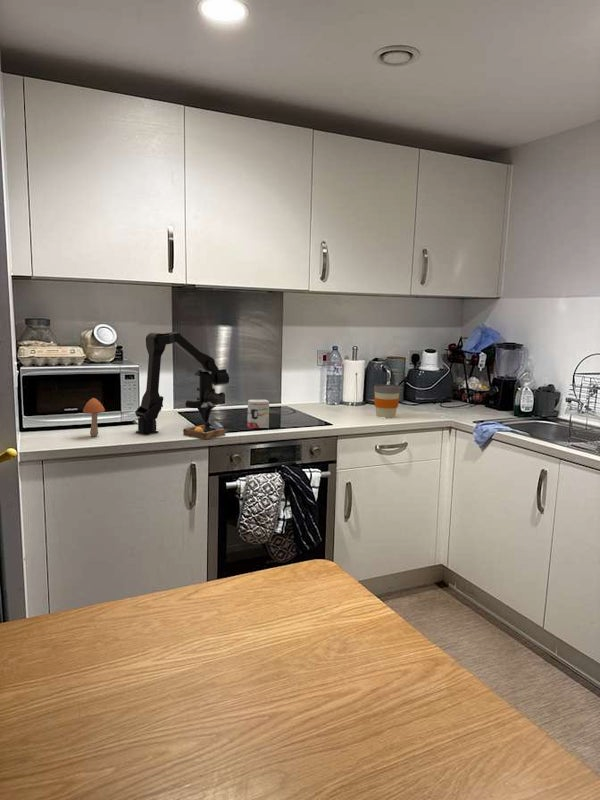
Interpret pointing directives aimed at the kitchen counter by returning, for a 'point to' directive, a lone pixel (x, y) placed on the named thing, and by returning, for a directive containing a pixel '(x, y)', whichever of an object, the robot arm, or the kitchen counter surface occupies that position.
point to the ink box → (258, 414)
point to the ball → (198, 429)
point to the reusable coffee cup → (386, 400)
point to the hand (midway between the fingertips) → (205, 421)
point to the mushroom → (93, 414)
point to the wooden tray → (203, 433)
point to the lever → (215, 423)
